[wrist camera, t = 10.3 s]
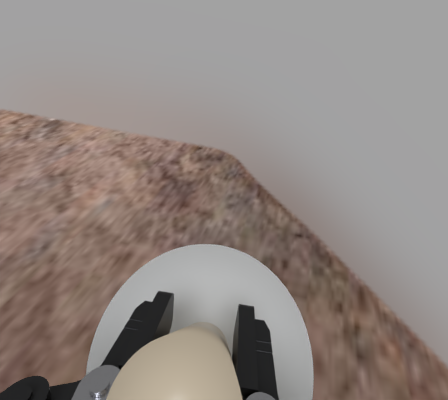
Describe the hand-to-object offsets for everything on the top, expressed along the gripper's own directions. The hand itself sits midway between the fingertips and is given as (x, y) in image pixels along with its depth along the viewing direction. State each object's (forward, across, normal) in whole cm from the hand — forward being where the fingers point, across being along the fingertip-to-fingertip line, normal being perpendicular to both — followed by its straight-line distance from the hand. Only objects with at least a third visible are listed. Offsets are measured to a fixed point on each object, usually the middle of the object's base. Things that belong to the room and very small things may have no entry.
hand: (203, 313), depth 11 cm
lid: (+2, 0, +5) cm, 5 cm away
